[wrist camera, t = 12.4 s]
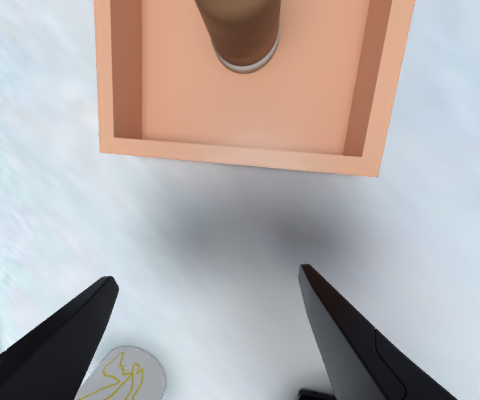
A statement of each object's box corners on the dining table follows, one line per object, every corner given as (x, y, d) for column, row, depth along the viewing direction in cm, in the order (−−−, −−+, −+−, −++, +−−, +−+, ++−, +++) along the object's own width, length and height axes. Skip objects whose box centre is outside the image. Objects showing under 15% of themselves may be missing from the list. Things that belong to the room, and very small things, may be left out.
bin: (407, -124, 13) (467, -247, 9) (351, 174, 17) (377, 177, 13) (131, -105, 15) (86, -197, 11) (134, 155, 19) (99, 152, 15)
